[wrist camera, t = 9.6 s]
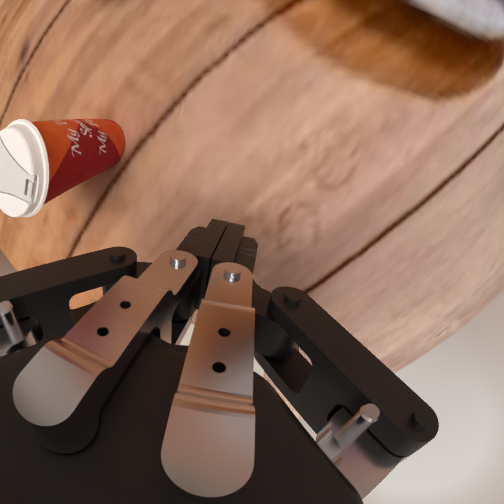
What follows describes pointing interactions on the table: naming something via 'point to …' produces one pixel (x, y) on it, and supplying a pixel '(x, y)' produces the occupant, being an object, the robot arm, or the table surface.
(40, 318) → the robot arm
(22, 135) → the paper cup
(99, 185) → the table surface
